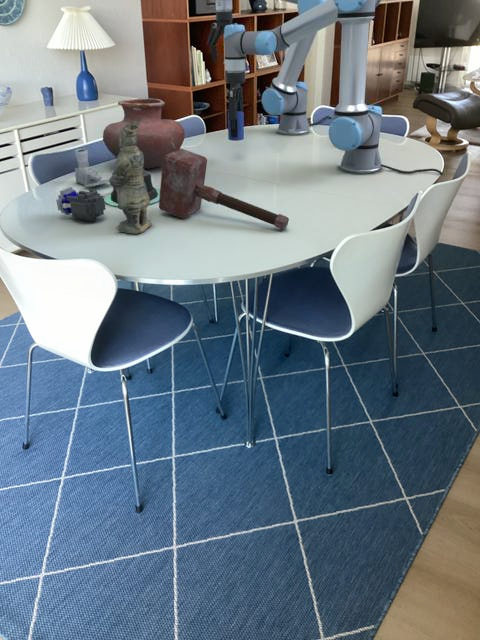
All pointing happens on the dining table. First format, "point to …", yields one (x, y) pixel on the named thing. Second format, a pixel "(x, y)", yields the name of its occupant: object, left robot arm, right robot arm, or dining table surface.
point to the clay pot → (146, 131)
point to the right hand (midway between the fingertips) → (236, 134)
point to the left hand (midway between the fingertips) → (225, 62)
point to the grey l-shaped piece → (86, 170)
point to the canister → (240, 127)
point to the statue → (131, 182)
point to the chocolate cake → (152, 192)
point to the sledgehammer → (200, 190)
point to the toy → (81, 204)
